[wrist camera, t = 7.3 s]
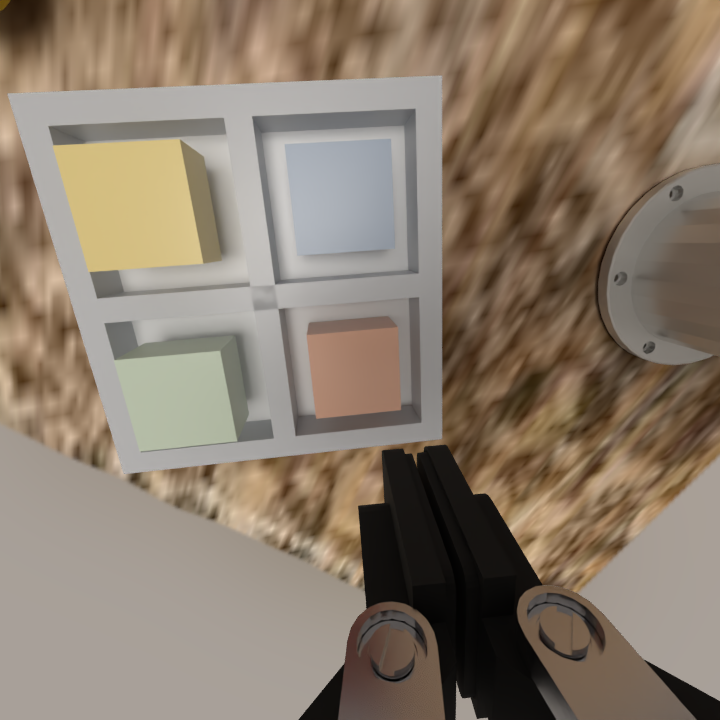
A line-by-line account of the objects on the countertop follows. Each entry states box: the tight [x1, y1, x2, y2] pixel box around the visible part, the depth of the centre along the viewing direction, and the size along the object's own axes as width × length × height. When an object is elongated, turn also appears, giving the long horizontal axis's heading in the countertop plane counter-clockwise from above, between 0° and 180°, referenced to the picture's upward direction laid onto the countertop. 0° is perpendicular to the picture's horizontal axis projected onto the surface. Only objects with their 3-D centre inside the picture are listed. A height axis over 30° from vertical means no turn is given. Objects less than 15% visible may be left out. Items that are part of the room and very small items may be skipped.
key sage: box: [114, 335, 249, 452], centre depth 19 cm, size 5×5×3 cm
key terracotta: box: [307, 316, 401, 419], centre depth 21 cm, size 5×5×3 cm
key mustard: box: [53, 139, 222, 272], centre depth 16 cm, size 5×5×3 cm
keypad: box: [8, 76, 442, 474], centre depth 21 cm, size 18×18×4 cm
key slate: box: [285, 139, 395, 256], centre depth 18 cm, size 5×5×3 cm
